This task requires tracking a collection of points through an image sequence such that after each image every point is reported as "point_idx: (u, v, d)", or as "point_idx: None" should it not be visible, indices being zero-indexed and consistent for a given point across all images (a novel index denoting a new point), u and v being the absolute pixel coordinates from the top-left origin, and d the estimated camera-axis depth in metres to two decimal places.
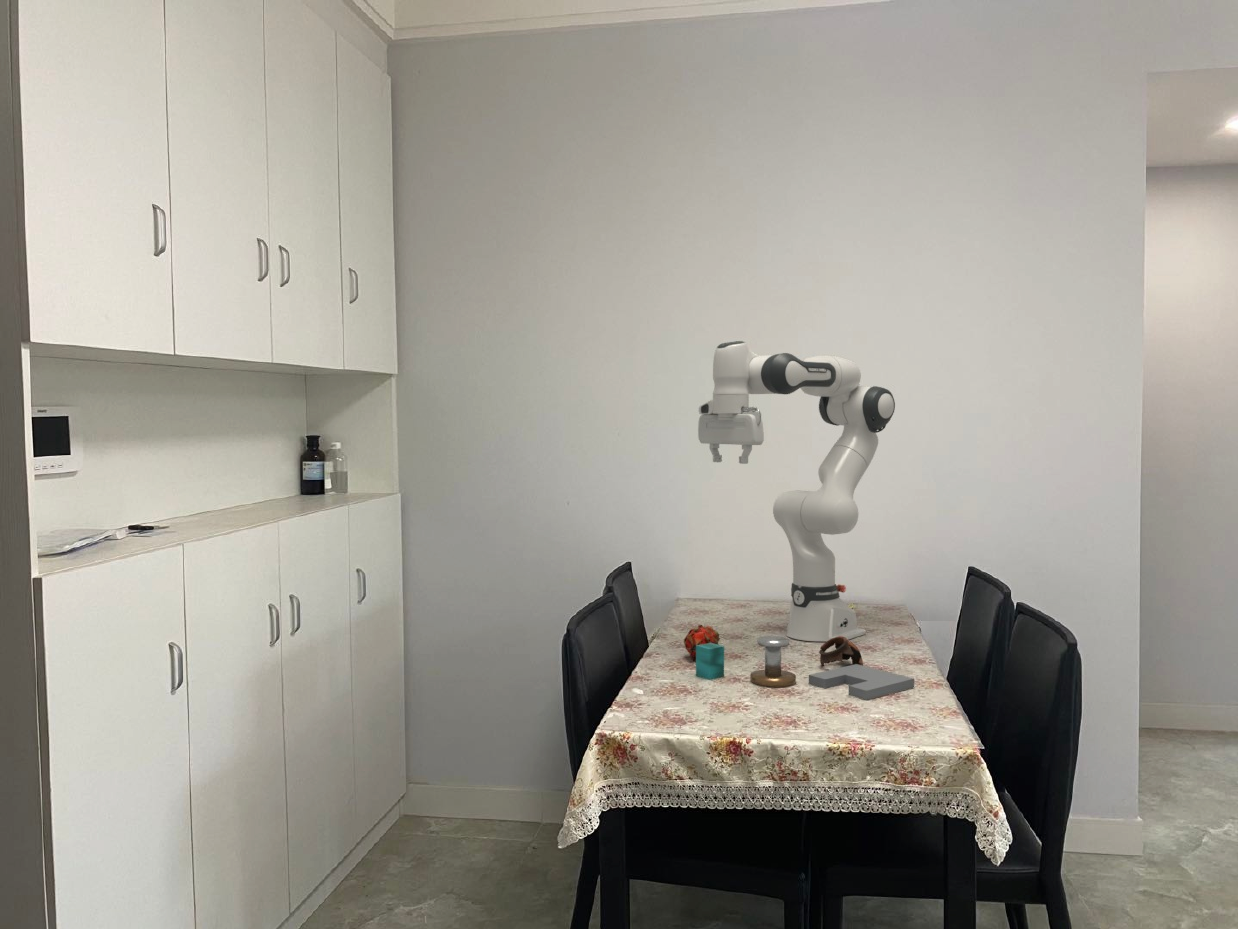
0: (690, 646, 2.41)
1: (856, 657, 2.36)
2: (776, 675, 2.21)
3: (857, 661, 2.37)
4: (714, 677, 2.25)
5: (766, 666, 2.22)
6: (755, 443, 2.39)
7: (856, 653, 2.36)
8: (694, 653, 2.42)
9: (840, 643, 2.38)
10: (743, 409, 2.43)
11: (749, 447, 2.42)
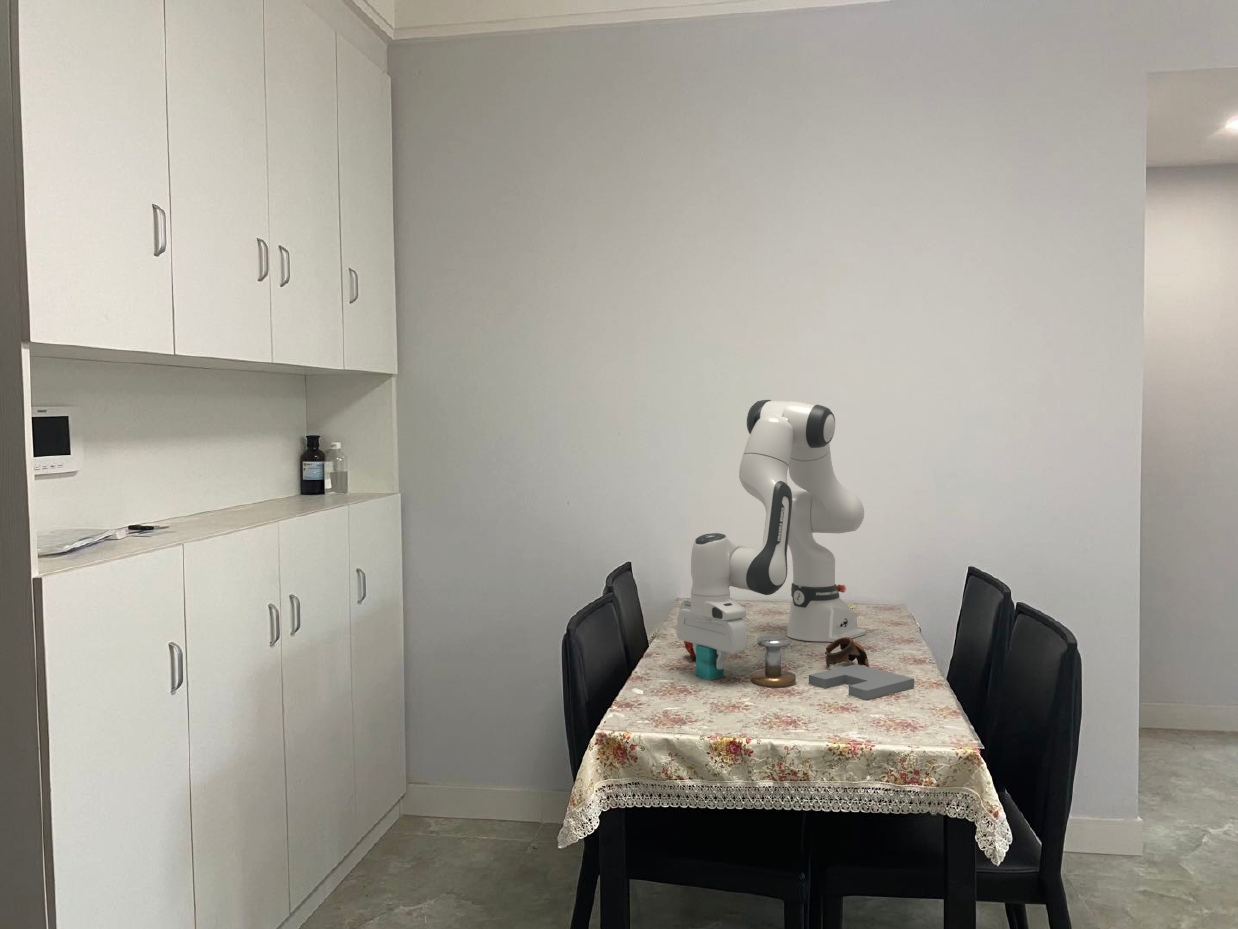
0: (690, 646, 2.41)
1: (862, 658, 2.36)
2: (776, 675, 2.21)
3: (863, 662, 2.36)
4: (714, 677, 2.25)
5: (766, 666, 2.22)
6: None
7: (862, 654, 2.35)
8: (694, 653, 2.42)
9: (845, 644, 2.37)
10: None
11: None
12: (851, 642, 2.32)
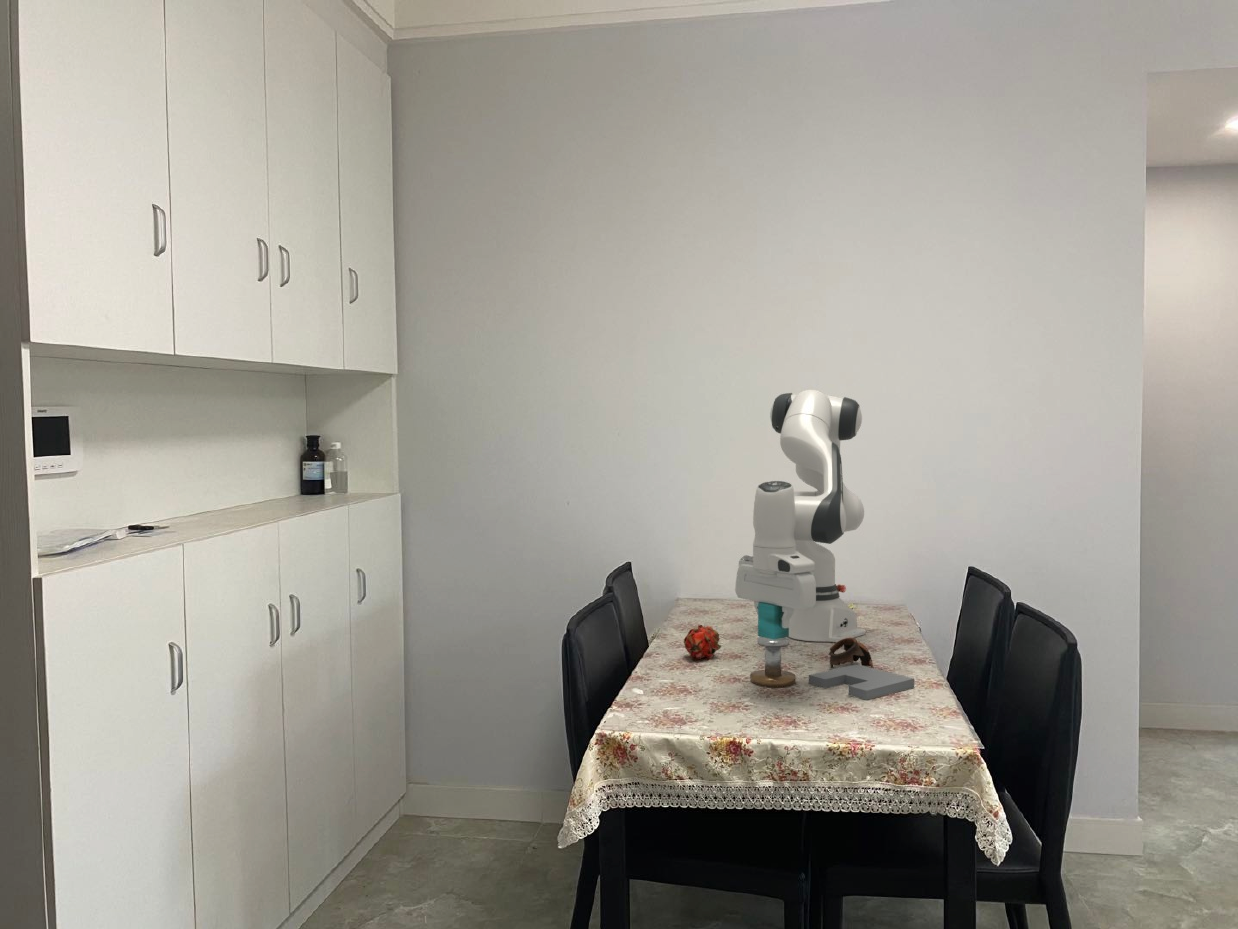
0: (690, 646, 2.41)
1: (865, 658, 2.35)
2: (776, 675, 2.21)
3: (866, 662, 2.36)
4: (778, 636, 2.07)
5: (766, 666, 2.22)
6: None
7: (866, 654, 2.35)
8: (694, 653, 2.42)
9: (849, 644, 2.37)
10: None
11: None
12: (855, 643, 2.31)
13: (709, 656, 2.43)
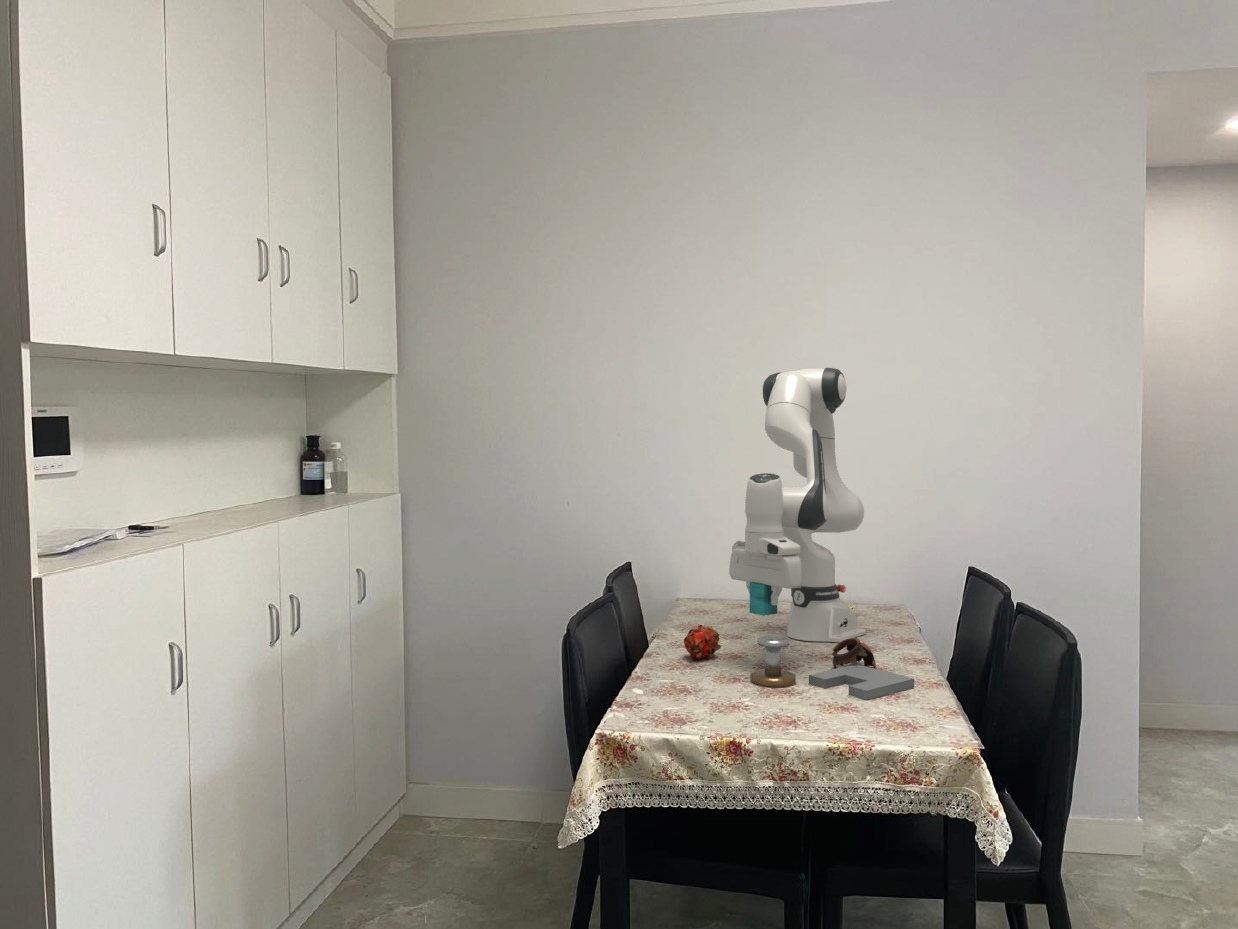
0: (690, 646, 2.41)
1: (868, 658, 2.35)
2: (776, 675, 2.21)
3: (869, 662, 2.35)
4: (768, 613, 2.30)
5: (766, 666, 2.22)
6: None
7: (869, 654, 2.34)
8: (694, 653, 2.42)
9: (852, 645, 2.36)
10: None
11: None
12: (858, 643, 2.31)
13: (709, 656, 2.43)
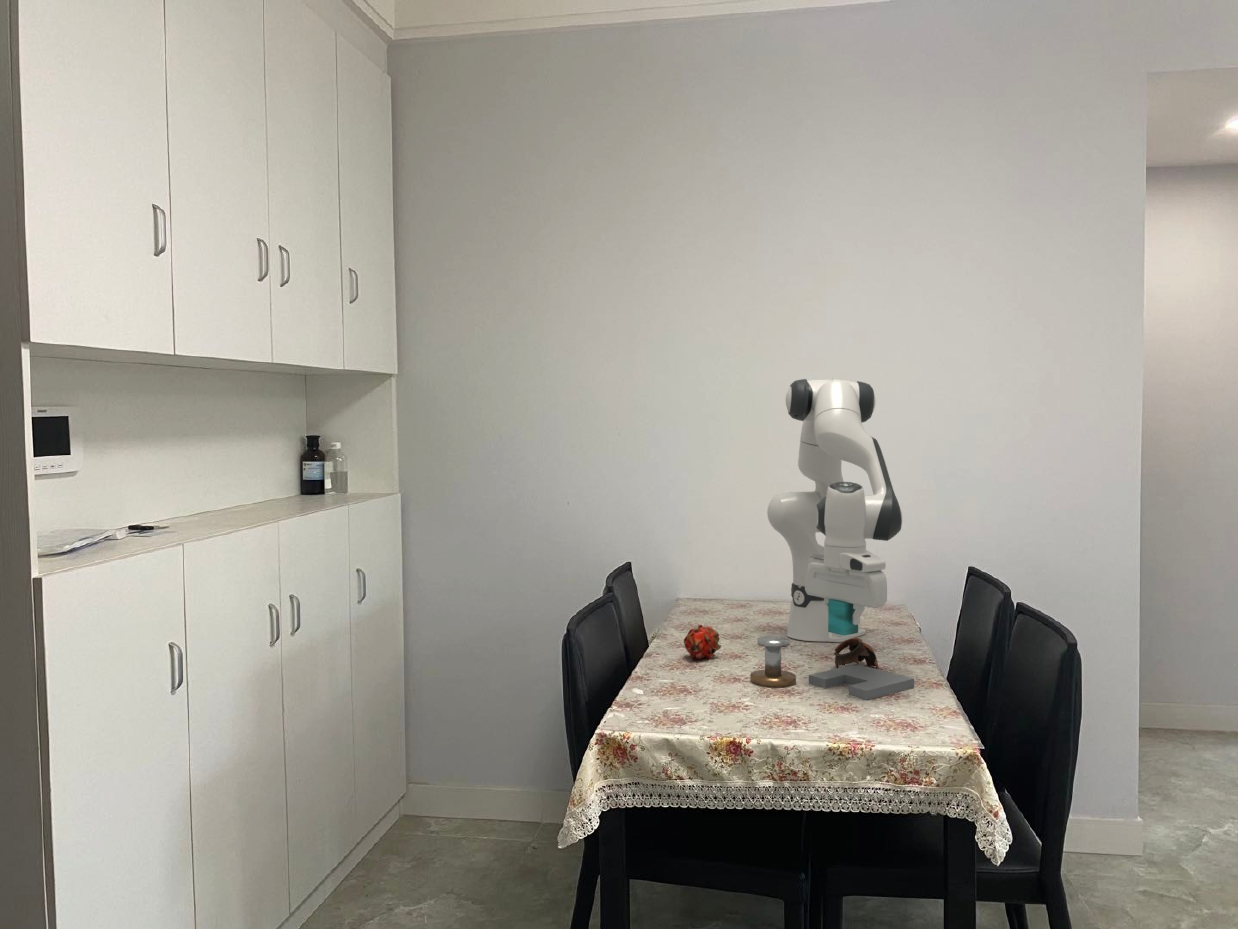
0: (690, 646, 2.41)
1: (871, 658, 2.35)
2: (776, 675, 2.21)
3: (871, 663, 2.35)
4: (849, 633, 2.14)
5: (766, 666, 2.22)
6: None
7: (871, 654, 2.34)
8: (694, 653, 2.42)
9: (854, 645, 2.36)
10: None
11: None
12: (860, 643, 2.31)
13: (709, 656, 2.43)
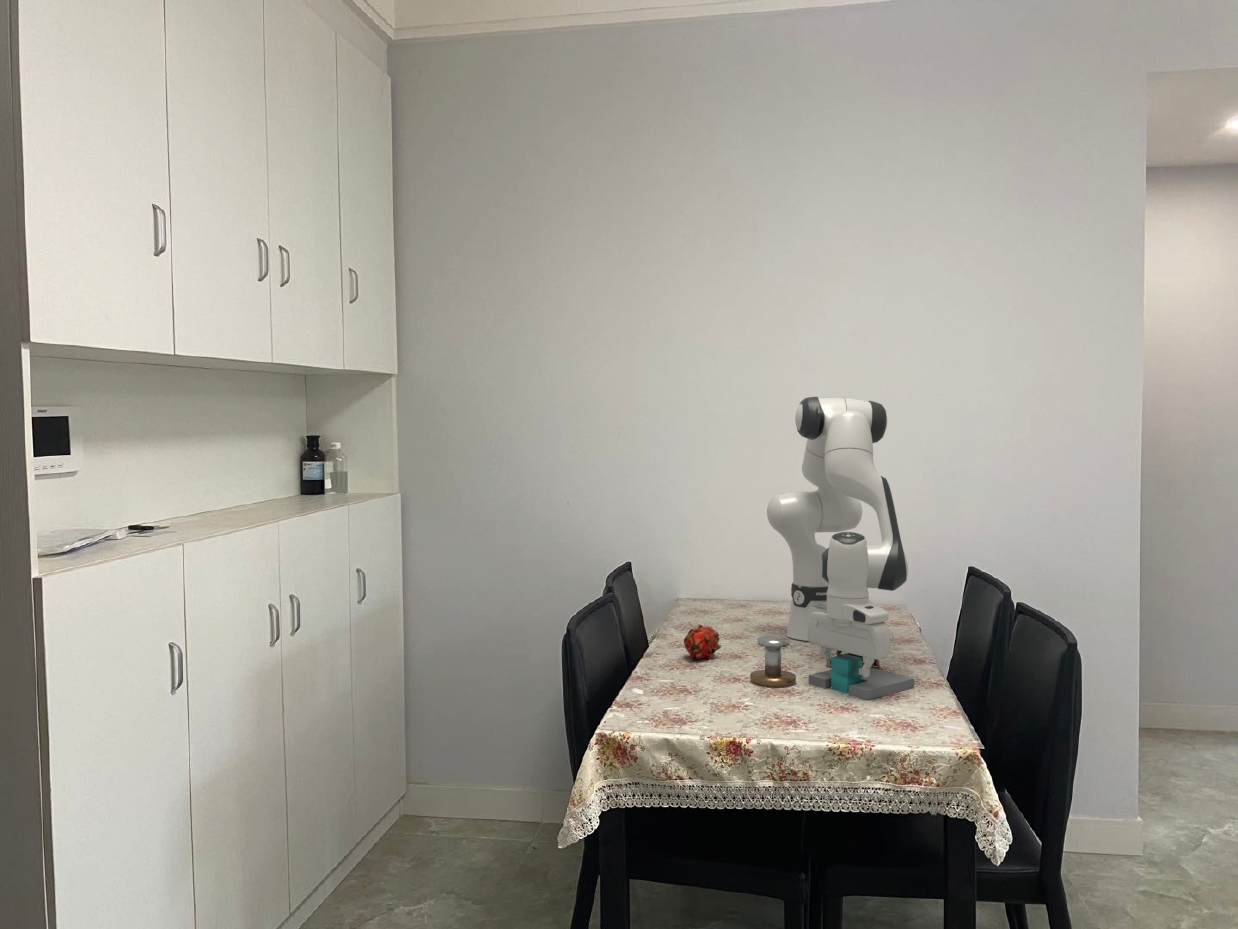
0: (690, 646, 2.41)
1: None
2: (776, 675, 2.21)
3: None
4: None
5: (766, 666, 2.22)
6: None
7: None
8: (694, 653, 2.42)
9: None
10: None
11: None
12: None
13: (709, 656, 2.43)
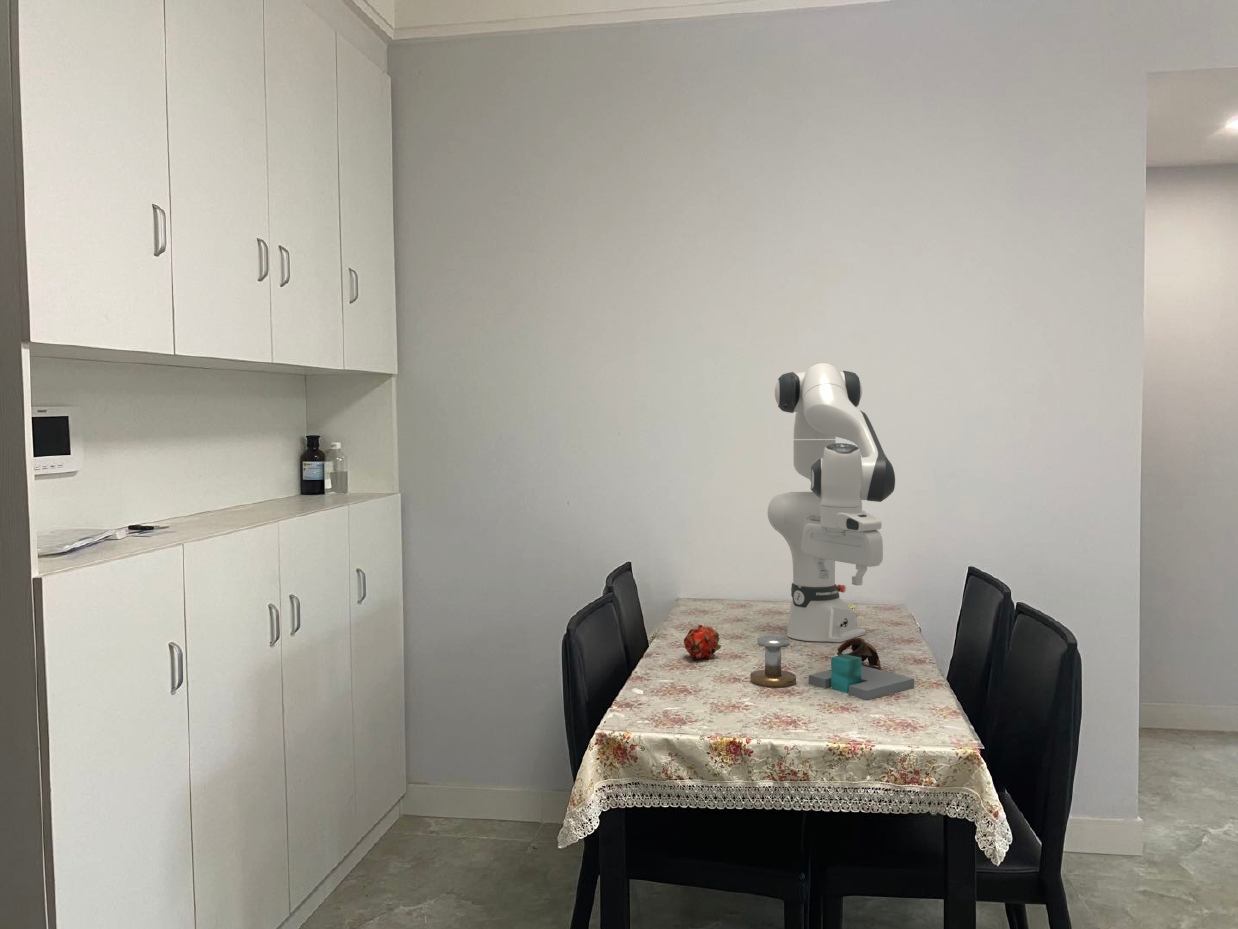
0: (690, 646, 2.41)
1: (873, 658, 2.35)
2: (776, 675, 2.21)
3: (874, 662, 2.36)
4: None
5: (766, 666, 2.22)
6: None
7: (873, 654, 2.35)
8: (694, 653, 2.42)
9: (857, 644, 2.37)
10: None
11: None
12: (863, 643, 2.31)
13: (709, 656, 2.43)
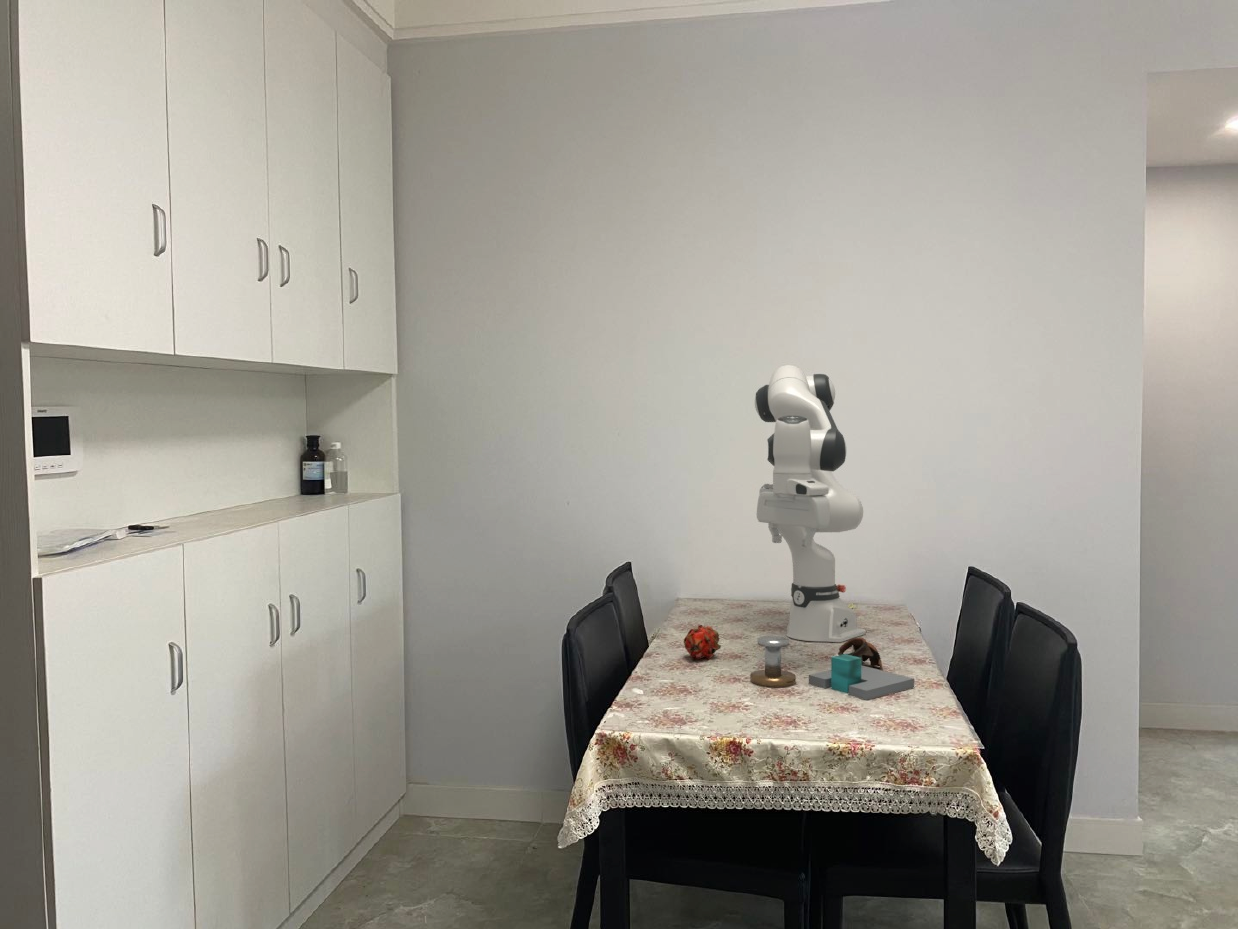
0: (690, 646, 2.41)
1: (875, 658, 2.35)
2: (776, 675, 2.21)
3: (876, 662, 2.36)
4: None
5: (766, 666, 2.22)
6: None
7: (875, 654, 2.35)
8: (694, 653, 2.42)
9: (858, 644, 2.37)
10: None
11: None
12: (864, 643, 2.31)
13: (709, 656, 2.43)
